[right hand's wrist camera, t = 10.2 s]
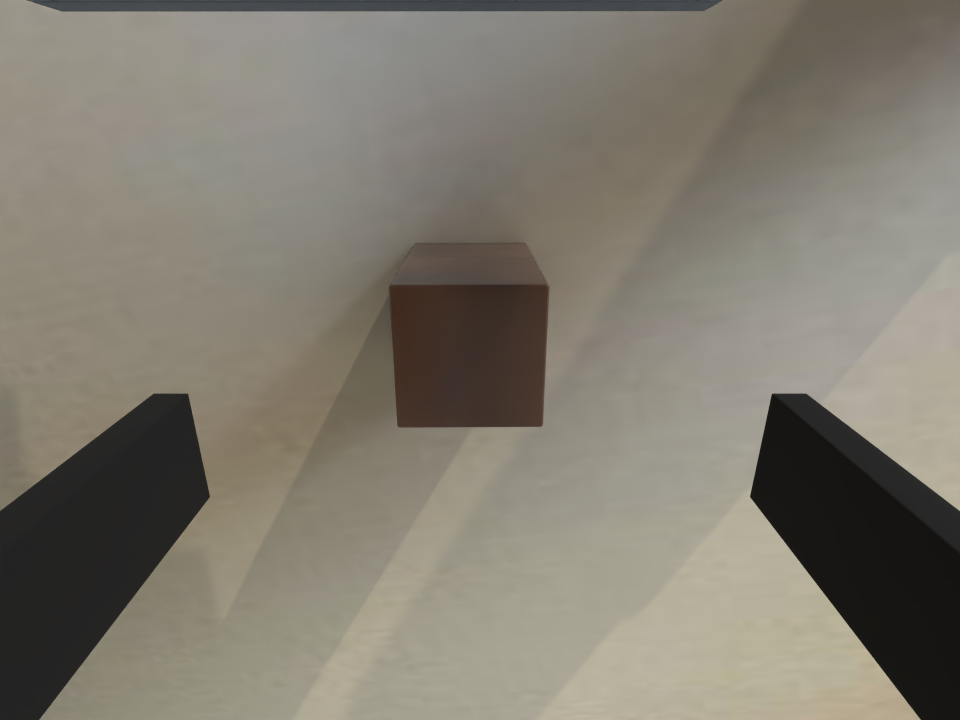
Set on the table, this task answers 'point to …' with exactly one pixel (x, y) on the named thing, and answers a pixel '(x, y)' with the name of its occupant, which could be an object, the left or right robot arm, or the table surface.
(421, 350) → the walnut block
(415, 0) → the tray
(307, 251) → the table surface
